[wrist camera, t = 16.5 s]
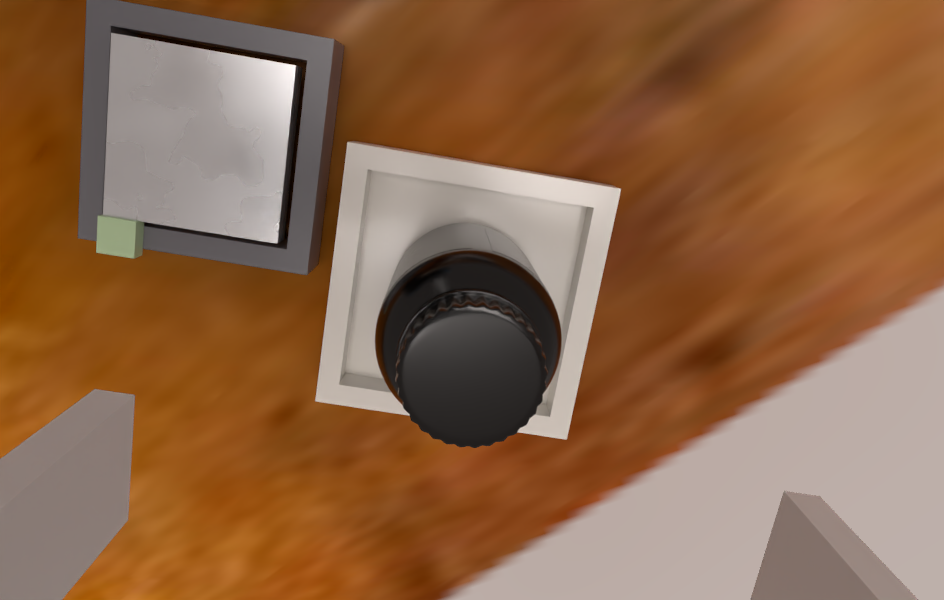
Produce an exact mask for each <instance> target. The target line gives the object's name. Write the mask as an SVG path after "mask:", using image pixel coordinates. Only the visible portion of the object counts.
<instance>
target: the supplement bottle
mask: <svg viewBox="0 0 944 600" xmlns="http://www.w3.org/2000/svg"><path fill="white" fill-rule="evenodd" d="M561 346H562V334H561V326H560V320H559V317H558V313H557V310H556V307H555V305H554V302H553V300H552V298H551V296H550V294H549V292H548V291H547V289H546V287H545V286H544V284H543V283H542V281H541V279H540V278H539V276H538V274H537V273H536V271H535V270H534V268H533V266H532V265H531V263H530V261H529V260H528V258H527V257H526V255H525V254H524V253H523V252H522V250H521V249H520V248H519V247H518V246H517V245H516V244H515V243H514V242H513V241H512V240H511V239H510V238H508V237H507V236H505V235H504V234H502V233H501V232H499V231H497V230H495V229H492V228H490V227H487V226H484V225H480V224H474V223H454V224H448V225H444V226H441V227H438V228H436V229H433V230H431V231H429V232H428V233H426V234H424V235H423V236H421V237H420V238H419V239H418V240H416V241H415V242H414V243H413V244H412V245H411V246H410V247H409V248H408V249H407V251H406V252H405V253H404V255H403V256H402V258H401V259H400V261H399V263H398V265H397V267H396V269H395V272H394V274H393V277H392V279H391V282H390V284H389V287H388V290H387V292H386V295H385V298H384V300H383V303H382V305H381V308H380V311H379V315H378V318H377V323H376V330H375V352H376V358H377V363H378V366H379V369H380V372H381V375H382V377H383V379H384V381H385V383H386V385H387V386H388V388H389V390H390V391H391V392H392V394H393V395H394V397H395V398H396V399H397V400H398V401H399V402H400V403H401V404H402V405H403V409H404V410H405V411H406V412H408V413H409V415H410V418H411V421H413V422H414V423H416V424H418V425H419V427H420V429H421V431H424V432H427V433H429V434H430V435H431V437H432V438H434V439H439V440H442V441H443V442H444V443H446V444H455V445H457V446H459V447H465V446H470V447H473V448H477V447H479V446H481V445H484V446H490V445H492V444H493V443H495V442H500V441H504V440H505V439H506V438H507V437H508V436H511V435H514V434H516V433H517V432H518V430H519V429H520V428H521V427H524V426H526V425H527V423H528V421H529V419H530V418H531V417H532V416H534V415H535V414H536V411H537V407H538V406H539V405H540V404H541V402H542V401H543V394H544V392H545V391H546V389H547V388H548V386H549V385H550V383H551V381H552V379H553V377H554V375H555V372H556V369H557V367H558V363H559V359H560V354H561Z"/></svg>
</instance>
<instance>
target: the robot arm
mask: <svg viewBox="0 0 944 600" xmlns="http://www.w3.org/2000/svg"><path fill="white" fill-rule="evenodd" d="M134 402H135V395H132V394H125V393H118V392H112V391H105V390H98V389H94V390H93V391H92V392H90V393H89V394H87V395H86V396H85V397H83V398H82V399H81V400H79V401H78V402H77V403H75V404H74V405H73V406H71V407H70V408H69V409H67V410H66V411H64V412H63V413H62V414H60V415H59V416H58V417H56V418H55V419H54V420H52V421H51V422H50V423H48V424H47V425H46V426H44V427H43V428H41V429H40V430H39V431H37V432H36V433H35V434H33V435H32V436H31V437H29V438H28V439H27V440H25V441H24V442H23V443H21V444H20V445H19V446H17V447H16V448H14V449H13V450H12V451H10V452H9V453H8V454H6V455H5V456H4V457H2V458H1V459H0V600H62V599H63V598H64V597H65V595H66V594H67V593H68V592H69V591H70V589H71V588H72V587H73V586H74V585H75V583H76V582H77V581H78V580H79V578H80V577H81V576H82V575H83V574H84V572H85V571H86V570H87V569H88V568H89V566H90V565H91V564H92V563H93V562H94V560H95V559H96V558H97V557H98V556H99V554H100V553H101V552H102V551H103V549H104V548H105V547H106V546H107V545H108V543H109V542H110V541H111V540H112V539H113V537H114V536H115V535H116V534H117V533H118V531H119V530H120V529H121V528H122V527H123V525H124V524H125V523H126V522H127V520H128V511H129V493H130V475H131V457H132V439H133V421H134ZM751 600H918V599H917V598H916V597H915V596H914V595H913V594H912V593H911V592H910V590H909V589H907V587H906V586H905V585H904V584H903V583H902V582H901V581H900V580H899V579H898V578H897V577H896V576H895V575H894V574H893V573H892V572H891V571H890V570H889V568H888V567H886V565H885V564H884V563H882V561H881V560H880V559H879V558H878V557H877V556H876V555H875V554H874V553H873V552H872V551H871V550H870V549H869V547H868V546H867V545H866V544H865V543H864V542H863V541H862V540H861V539H860V538H859V537H858V536H857V535H856V534H855V533H854V532H853V531H852V530H851V529H850V528H849V527H848V525H847V524H846V523H845V522H844V521H843V520H842V519H841V518H840V517H839V516H838V515H837V514H836V513H835V512H834V511H833V510H832V509H831V508H830V507H829V506H828V505H827V503H825V501H823V499H822V498H821V497H820V496H813V495H807V494H801V493H794V492H786V491H784V493H783V496H782V499H781V502H780V506H779V509H778V512H777V515H776V518H775V522H774V525H773V528H772V531H771V535H770V538H769V541H768V544H767V548H766V551H765V554H764V557H763V561H762V564H761V567H760V570H759V574H758V577H757V580H756V583H755V587H754V590H753V593H752V597H751Z"/></svg>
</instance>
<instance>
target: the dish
mask: <svg viewBox="0 0 944 600" xmlns="http://www.w3.org/2000/svg"><path fill="white" fill-rule="evenodd" d="M620 192H621V189H620V188H618V187H615V186H613V185H609V184H603V183H597V182H591V181H586V180H580V179H574V178H568V177H562V176H557V175H551V174H545V173H539V172H533V171H527V170H522V169H516V168H510V167H504V166H498V165H493V164H487V163H481V162H475V161H469V160H463V159H458V158H452V157H446V156H440V155H434V154H429V153H423V152H417V151H411V150H405V149H399V148H394V147H388V146H382V145H376V144H370V143H364V142H359V141H351V142H347V150H346V158H345V166H344V174H343V182H342V190H341V198H340V206H339V215H338V223H337V231H336V239H335V247H334V255H333V263H332V271H331V279H330V287H329V295H328V303H327V311H326V319H325V327H324V335H323V343H322V351H321V359H320V367H319V375H318V383H317V391H316V399H315V401H317V402H323V403H330V404H336V405H343V406H349V407H356V408H363V409H369V410H376V411H382V412H389V413H395V414H402V415H408V416H410V415H409V413H408V412H406V411H405V410H404V409H403V405H402V404H401V403H400V402H399V401H398V400H397V399H396V398H395V397H394V395H393V394H392V392H391V391H390V390H389V388H388V386H387V385H386V383H385V381H384V379H383V377H382V375H381V372H380V369H379V366H378V363H377V358H376V352H375V330H376V323H377V318H378V315H379V311H380V308H381V305H382V303H383V300H384V298H385V295H386V292H387V290H388V287H389V284H390V282H391V279H392V277H393V274H394V272H395V269H396V267H397V265H398V263H399V261H400V259H401V258H402V256H403V255H404V253H405V252H406V251H407V249H408V248H409V247H410V246H411V245H412V244H413V243H414V242H415V241H416V240H418V239H419V238H420V237H421V236H423V235H424V234H426V233H428V232H429V231H431V230H433V229H436V228H438V227H441V226H444V225H448V224H454V223H474V224H480V225H484V226H487V227H490V228H492V229H495V230H497V231H499V232H501V233H502V234H504V235H505V236H507V237H508V238H510V239H511V240H512V241H513V242H514V243H515V244H516V245H517V246H518V247H519V248H520V249H521V250H522V252H523V253H524V254H525V255H526V257H527V258H528V260H529V261H530V263H531V265H532V266H533V268H534V270H535V271H536V273H537V274H538V276H539V278H540V279H541V281H542V283H543V284H544V286H545V287H546V289H547V291H548V292H549V294H550V296H551V298H552V300H553V302H554V305H555V307H556V310H557V313H558V317H559V320H560V326H561V334H562V346H561V354H560V359H559V363H558V367H557V369H556V372H555V375H554V377H553V379H552V381H551V383H550V385H549V386H548V388H547V389H546V391H545V392H544V394H543V401H542V402H541V404H540V405H539V406H538V407H537V411H536V414H535V415H534V416H532V417H531V418H530V419H529V421H528V423H527V425H526V426H524V427H521V428H520V429H519V430H518V432H520V433H527V434H533V435H540V436H546V437H553V438H559V439H566V440H567V436H568V431H569V426H570V422H571V417H572V413H573V408H574V403H575V399H576V394H577V390H578V385H579V380H580V376H581V371H582V367H583V362H584V357H585V353H586V348H587V344H588V339H589V334H590V330H591V325H592V321H593V316H594V311H595V307H596V302H597V298H598V293H599V288H600V284H601V279H602V275H603V270H604V266H605V261H606V256H607V252H608V247H609V243H610V238H611V233H612V229H613V224H614V220H615V215H616V210H617V206H618V201H619V197H620Z"/></svg>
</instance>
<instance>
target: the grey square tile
mask: <svg viewBox="0 0 944 600" xmlns="http://www.w3.org/2000/svg"><path fill="white" fill-rule="evenodd" d="M301 78H302V67H299V66H296V65H291V64H285V63H280V62H274V61H268V60H263V59H257V58H251V57H246V56H240V55H234V54H229V53H223V52H217V51H212V50H206V49H200V48H195V47H189V46H183V45H178V44H172V43H166V42H161V41H155V40H149V39H144V38H138V37H132V36H127V35H121V34H115V33H111V47H110V69H109V91H108V113H107V135H106V158H105V180H104V202H103V215H104V216H110V217H117V218H123V219H129V220H135V221H141V222H147V223H153V224H159V225H166V226H172V227H178V228H184V229H190V230H196V231H202V232H208V233H215V234H221V235H227V236H233V237H239V238H245V239H251V240H257V241H264V242H270V243H276V244H278V243H279V242H281V241H282V240H284V237H285V227H286V218H287V209H288V199H289V190H290V180H291V171H292V162H293V152H294V143H295V134H296V124H297V115H298V106H299V96H300V87H301Z"/></svg>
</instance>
